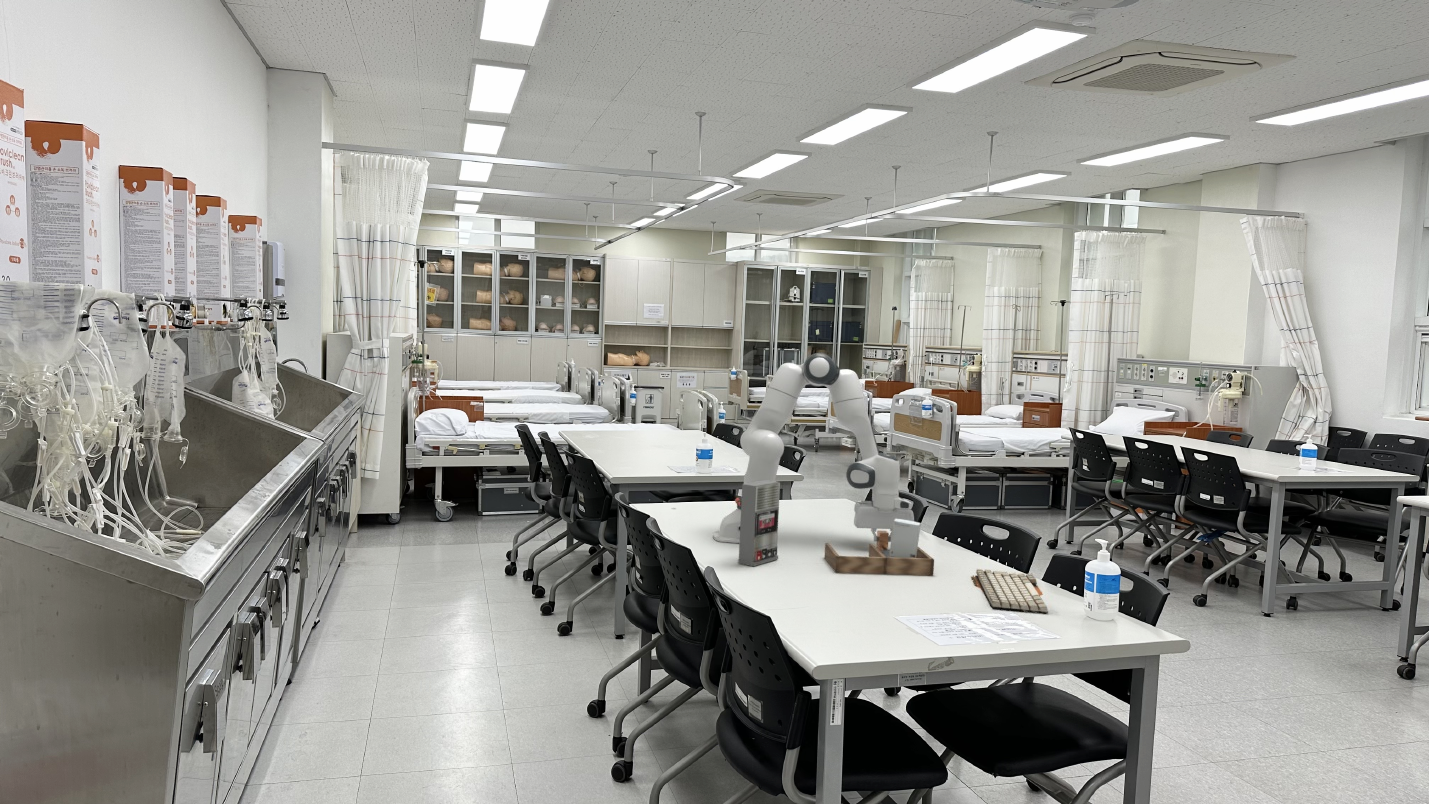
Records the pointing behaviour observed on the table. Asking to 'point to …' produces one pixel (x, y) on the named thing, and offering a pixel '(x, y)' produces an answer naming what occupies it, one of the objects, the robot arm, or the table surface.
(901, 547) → the skincare box
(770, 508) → the cassette tape recorder
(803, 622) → the table surface
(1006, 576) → the mechanical keyboard
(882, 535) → the pull frame
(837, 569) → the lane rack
